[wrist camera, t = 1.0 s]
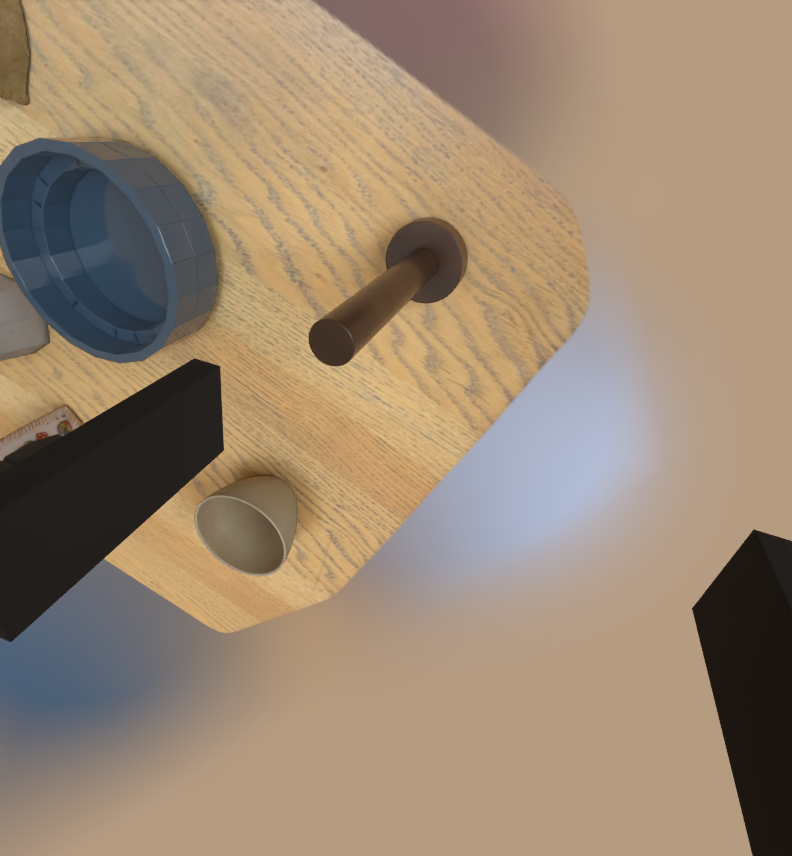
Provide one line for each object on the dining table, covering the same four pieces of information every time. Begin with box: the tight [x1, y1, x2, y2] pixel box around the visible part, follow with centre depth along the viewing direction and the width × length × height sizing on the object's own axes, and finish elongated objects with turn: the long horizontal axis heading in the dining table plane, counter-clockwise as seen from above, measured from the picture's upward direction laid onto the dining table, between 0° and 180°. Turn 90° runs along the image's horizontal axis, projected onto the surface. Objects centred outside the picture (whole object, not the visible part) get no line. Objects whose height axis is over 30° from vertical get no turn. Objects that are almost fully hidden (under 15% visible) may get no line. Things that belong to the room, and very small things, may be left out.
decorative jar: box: [0, 406, 83, 461], centre depth 54 cm, size 12×12×18 cm
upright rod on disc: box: [309, 218, 467, 366], centre depth 29 cm, size 6×6×18 cm
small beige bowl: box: [194, 476, 298, 576], centre depth 51 cm, size 10×10×7 cm
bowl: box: [0, 137, 218, 363], centre depth 41 cm, size 17×17×6 cm
